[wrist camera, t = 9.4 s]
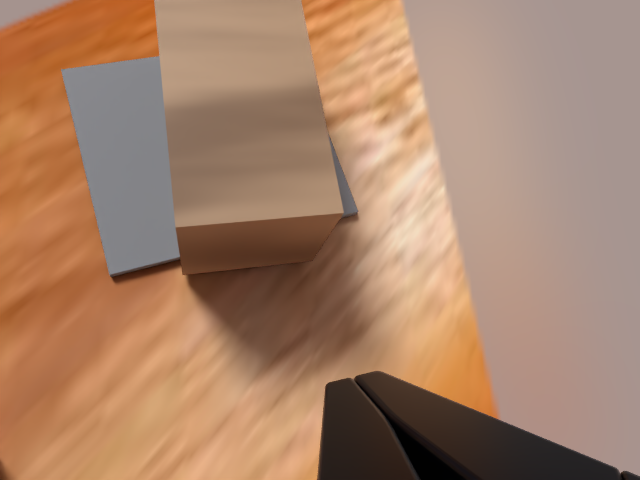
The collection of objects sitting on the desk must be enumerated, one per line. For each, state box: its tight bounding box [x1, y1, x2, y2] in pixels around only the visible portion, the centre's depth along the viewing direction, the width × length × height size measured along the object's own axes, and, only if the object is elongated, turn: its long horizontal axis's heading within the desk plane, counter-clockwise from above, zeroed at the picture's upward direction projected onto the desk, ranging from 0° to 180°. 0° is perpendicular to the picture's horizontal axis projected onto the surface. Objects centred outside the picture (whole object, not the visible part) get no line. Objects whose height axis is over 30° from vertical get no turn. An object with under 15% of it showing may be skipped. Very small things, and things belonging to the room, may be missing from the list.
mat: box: [61, 56, 358, 277], centre depth 21 cm, size 9×10×1 cm
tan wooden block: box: [154, 0, 344, 275], centre depth 19 cm, size 5×5×10 cm
